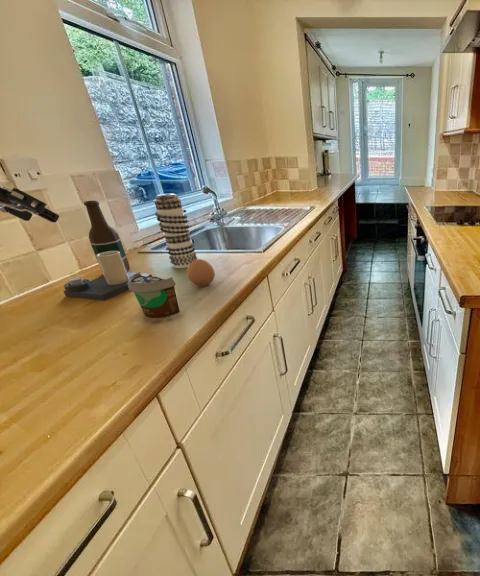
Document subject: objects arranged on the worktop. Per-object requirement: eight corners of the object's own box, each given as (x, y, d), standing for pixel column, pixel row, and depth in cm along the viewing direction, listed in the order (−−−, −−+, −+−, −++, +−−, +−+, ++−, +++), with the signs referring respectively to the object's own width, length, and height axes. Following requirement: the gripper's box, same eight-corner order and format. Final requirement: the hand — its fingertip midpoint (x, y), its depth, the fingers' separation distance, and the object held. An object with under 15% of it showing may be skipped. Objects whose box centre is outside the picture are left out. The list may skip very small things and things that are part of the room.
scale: (63, 297, 92) (58, 286, 91) (117, 276, 107) (113, 266, 105) (103, 301, 89) (99, 290, 88) (153, 279, 104) (149, 269, 103)
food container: (127, 316, 81) (113, 280, 77) (150, 305, 87) (138, 271, 83) (162, 324, 78) (150, 287, 74) (184, 312, 83) (173, 277, 79)
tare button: (68, 285, 92) (65, 280, 91) (78, 282, 94) (76, 276, 94) (76, 286, 91) (73, 280, 91) (86, 282, 94) (83, 277, 93)
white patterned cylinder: (175, 261, 121) (155, 193, 110) (201, 259, 123) (184, 192, 112) (166, 269, 112) (144, 197, 102) (195, 266, 115) (176, 195, 104)
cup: (102, 284, 96) (91, 255, 92) (119, 277, 101) (109, 250, 97) (117, 285, 95) (106, 256, 91) (133, 278, 100) (124, 251, 96)
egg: (222, 283, 101) (216, 257, 98) (201, 291, 95) (194, 265, 91) (206, 279, 104) (200, 254, 100) (185, 287, 98) (177, 261, 94)
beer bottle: (129, 265, 116) (105, 198, 106) (131, 271, 111) (106, 201, 101) (102, 270, 112) (74, 201, 102) (103, 277, 106) (73, 204, 96)
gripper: (-11, 158, 64) (73, 207, 79) (-63, 157, 66) (28, 204, 81) (-34, 189, 61) (58, 233, 76) (-86, 187, 64) (12, 230, 79)
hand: (43, 218), depth 79 cm, fingers open, 8 cm apart
